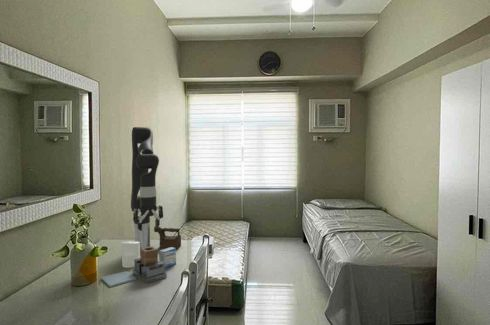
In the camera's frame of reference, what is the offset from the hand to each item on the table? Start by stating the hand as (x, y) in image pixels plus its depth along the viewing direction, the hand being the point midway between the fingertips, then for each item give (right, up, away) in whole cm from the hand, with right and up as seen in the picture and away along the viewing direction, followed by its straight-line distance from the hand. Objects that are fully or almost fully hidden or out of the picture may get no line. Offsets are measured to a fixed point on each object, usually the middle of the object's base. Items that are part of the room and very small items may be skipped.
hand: (148, 228), depth 154 cm
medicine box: (+6, -23, +14) cm, 27 cm away
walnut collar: (0, -17, +1) cm, 17 cm away
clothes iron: (-1, -21, +44) cm, 49 cm away
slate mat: (-13, -23, -4) cm, 27 cm away
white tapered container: (-14, -23, +15) cm, 31 cm away
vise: (0, -23, +1) cm, 23 cm away
